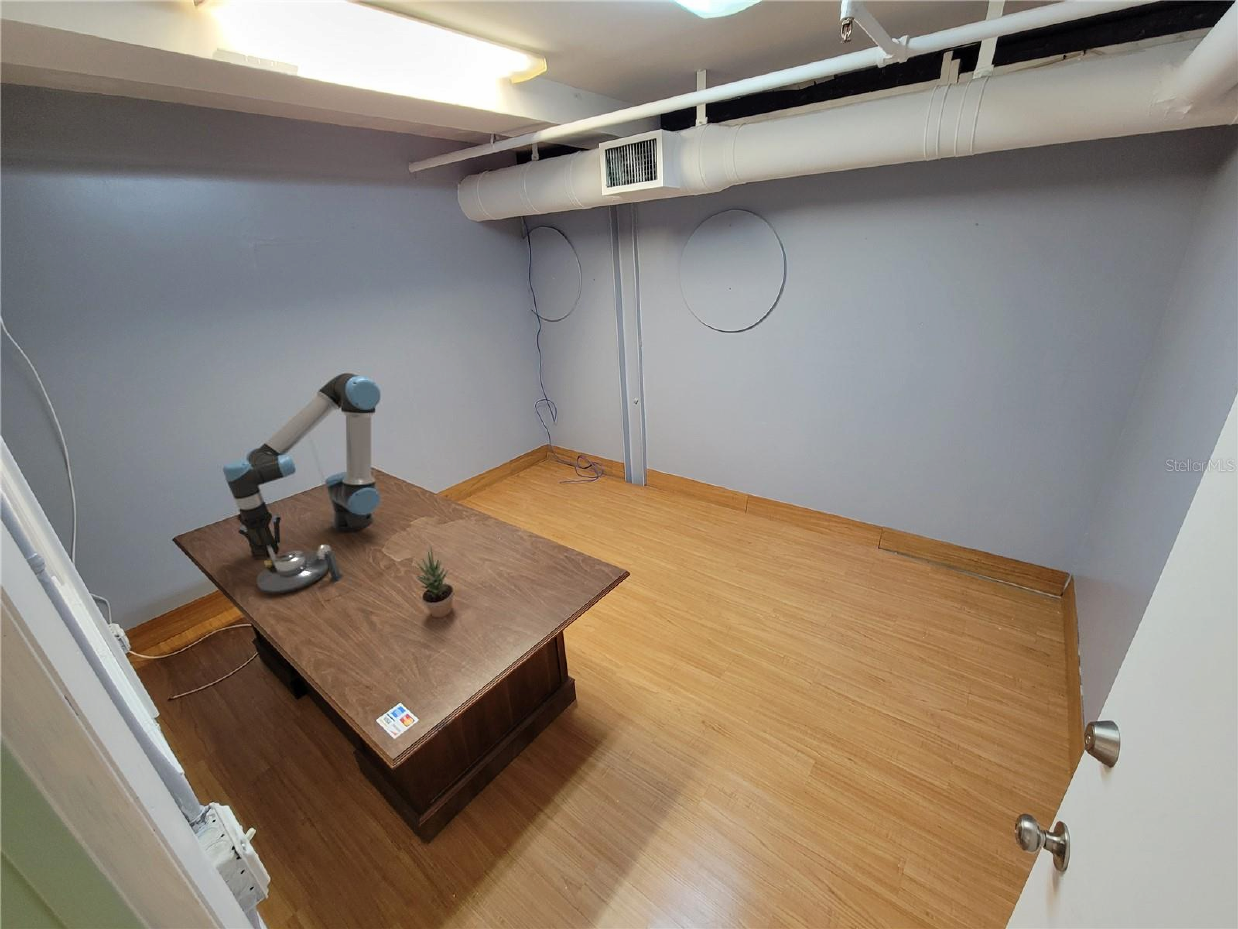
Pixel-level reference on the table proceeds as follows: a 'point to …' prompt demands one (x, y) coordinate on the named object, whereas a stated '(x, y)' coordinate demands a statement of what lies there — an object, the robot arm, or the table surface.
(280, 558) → the cover
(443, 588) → the potted plant
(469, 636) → the table surface
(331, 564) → the dial stand
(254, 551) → the container
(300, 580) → the turntable
